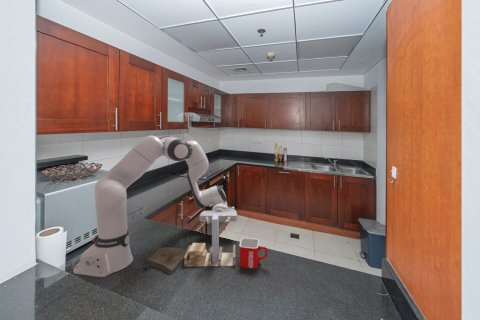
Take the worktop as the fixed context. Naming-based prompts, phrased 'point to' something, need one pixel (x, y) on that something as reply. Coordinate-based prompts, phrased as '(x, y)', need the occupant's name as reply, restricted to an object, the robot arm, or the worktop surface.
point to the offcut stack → (197, 254)
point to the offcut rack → (223, 259)
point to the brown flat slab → (167, 259)
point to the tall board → (215, 238)
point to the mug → (250, 252)
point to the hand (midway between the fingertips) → (217, 222)
